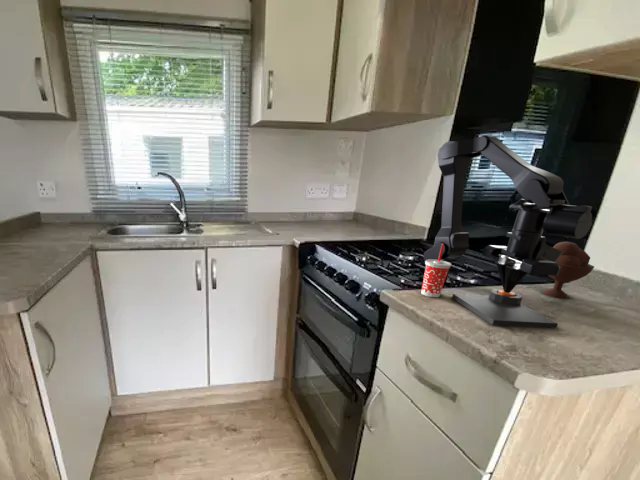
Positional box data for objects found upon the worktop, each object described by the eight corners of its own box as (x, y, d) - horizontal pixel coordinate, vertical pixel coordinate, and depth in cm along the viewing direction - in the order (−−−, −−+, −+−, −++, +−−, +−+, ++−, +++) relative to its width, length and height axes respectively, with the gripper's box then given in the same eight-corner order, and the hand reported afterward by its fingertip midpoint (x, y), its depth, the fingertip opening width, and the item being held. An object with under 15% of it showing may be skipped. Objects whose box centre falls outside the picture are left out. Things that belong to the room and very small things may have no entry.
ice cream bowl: (562, 302, 94) (584, 247, 89) (521, 289, 104) (539, 238, 99) (590, 300, 97) (613, 246, 92) (547, 287, 107) (566, 238, 101)
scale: (451, 297, 94) (454, 287, 93) (507, 300, 94) (510, 289, 93) (492, 325, 78) (496, 312, 77) (559, 328, 78) (564, 316, 77)
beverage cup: (414, 290, 99) (425, 240, 94) (435, 290, 99) (448, 241, 94) (424, 297, 93) (437, 245, 88) (447, 298, 93) (461, 246, 88)
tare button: (493, 295, 92) (495, 289, 92) (507, 296, 92) (509, 290, 91) (502, 300, 89) (504, 294, 88) (516, 301, 89) (519, 294, 88)
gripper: (597, 240, 75) (569, 307, 81) (532, 225, 93) (513, 282, 98) (544, 237, 76) (520, 305, 81) (489, 223, 93) (473, 280, 99)
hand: (506, 292), depth 90 cm, fingers closed, pressing on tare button
